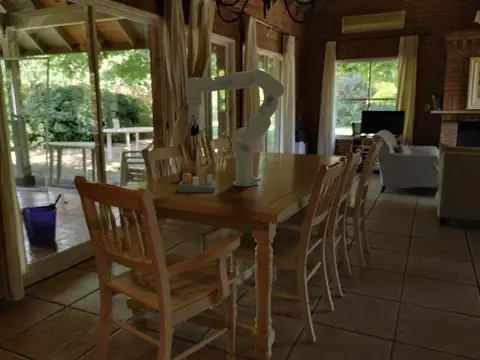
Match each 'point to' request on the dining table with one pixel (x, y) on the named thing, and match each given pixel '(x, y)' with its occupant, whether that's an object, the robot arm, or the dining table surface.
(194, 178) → the switch
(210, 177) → the switch tagged
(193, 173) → the ammunition clip
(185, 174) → the lockout cap
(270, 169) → the dining table surface
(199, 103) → the robot arm
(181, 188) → the panel
